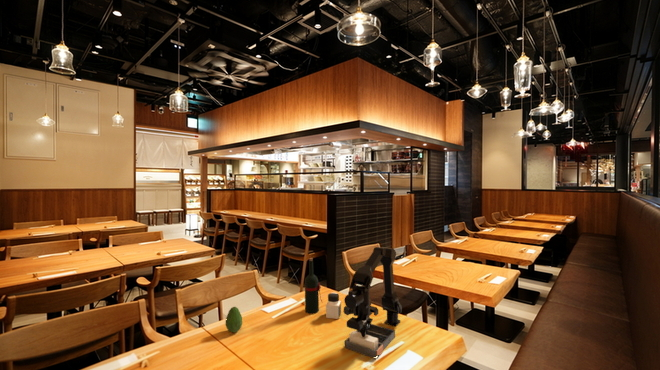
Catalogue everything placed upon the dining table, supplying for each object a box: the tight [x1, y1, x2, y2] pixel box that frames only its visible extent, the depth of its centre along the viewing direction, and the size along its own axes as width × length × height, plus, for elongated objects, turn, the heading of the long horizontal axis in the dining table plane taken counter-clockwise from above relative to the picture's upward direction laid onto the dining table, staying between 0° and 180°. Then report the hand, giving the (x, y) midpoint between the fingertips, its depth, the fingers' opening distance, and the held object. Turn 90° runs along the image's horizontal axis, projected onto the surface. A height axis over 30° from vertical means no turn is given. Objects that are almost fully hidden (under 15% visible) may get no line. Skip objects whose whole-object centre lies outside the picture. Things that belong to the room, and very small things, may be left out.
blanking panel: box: [348, 330, 378, 350], centre depth 125 cm, size 4×12×5 cm, turn 55°
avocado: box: [225, 306, 243, 333], centre depth 142 cm, size 8×8×12 cm
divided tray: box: [343, 323, 396, 359], centre depth 130 cm, size 20×16×3 cm
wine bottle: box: [304, 257, 323, 315], centre depth 164 cm, size 8×10×30 cm
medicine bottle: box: [325, 292, 342, 320], centre depth 157 cm, size 7×7×12 cm
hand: (363, 336), depth 125 cm, fingers closed, pressing on blanking panel
